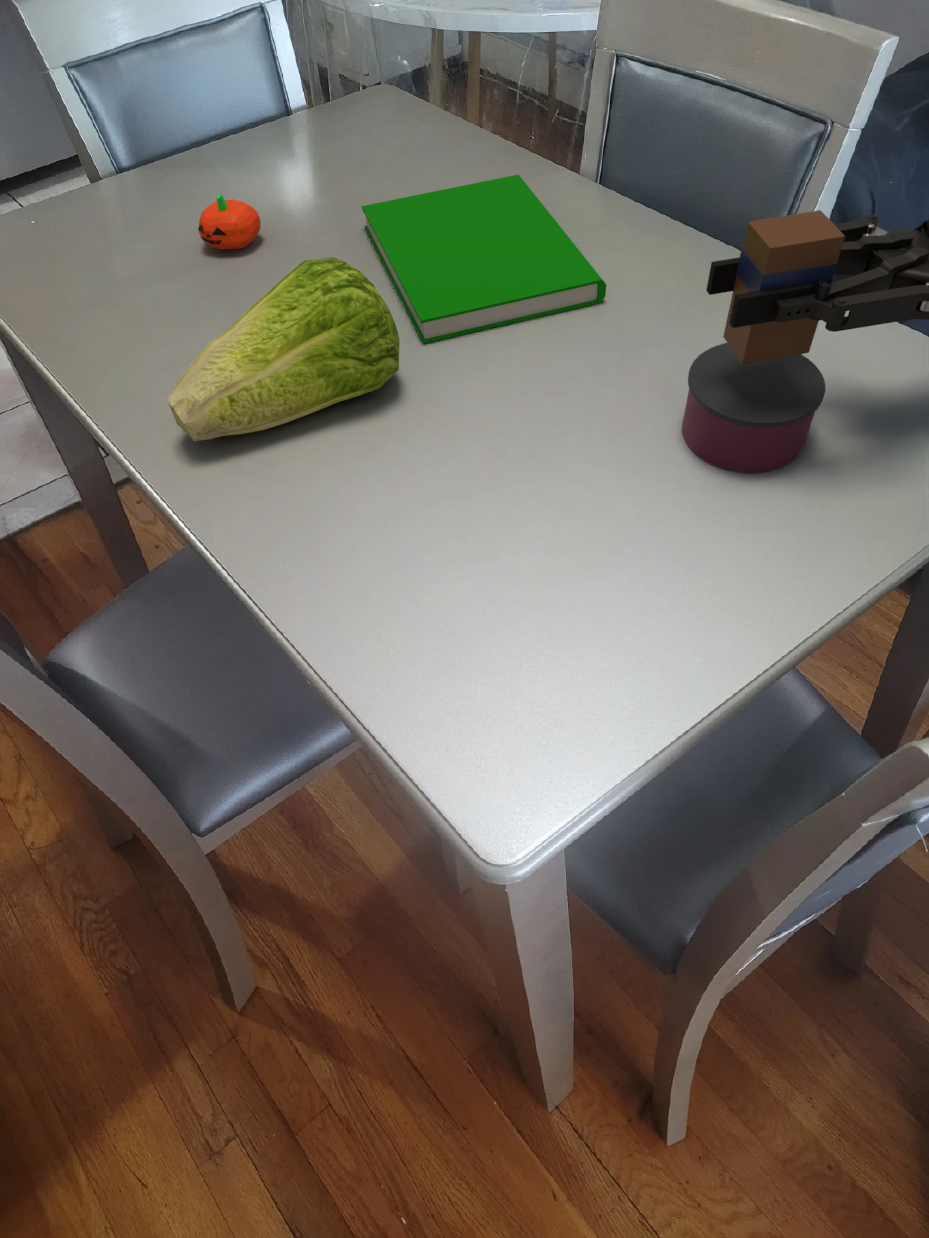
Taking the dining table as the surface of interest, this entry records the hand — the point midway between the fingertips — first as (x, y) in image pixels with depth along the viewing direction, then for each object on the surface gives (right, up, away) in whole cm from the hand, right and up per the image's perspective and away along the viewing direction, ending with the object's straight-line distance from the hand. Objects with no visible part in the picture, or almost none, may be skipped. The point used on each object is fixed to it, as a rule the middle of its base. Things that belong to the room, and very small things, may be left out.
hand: (722, 294), depth 74 cm
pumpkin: (-53, +22, +41) cm, 70 cm away
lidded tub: (+6, -9, +13) cm, 17 cm away
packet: (+5, -3, +5) cm, 8 cm away
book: (-20, +17, +35) cm, 44 cm away
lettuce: (-41, -4, +20) cm, 46 cm away
